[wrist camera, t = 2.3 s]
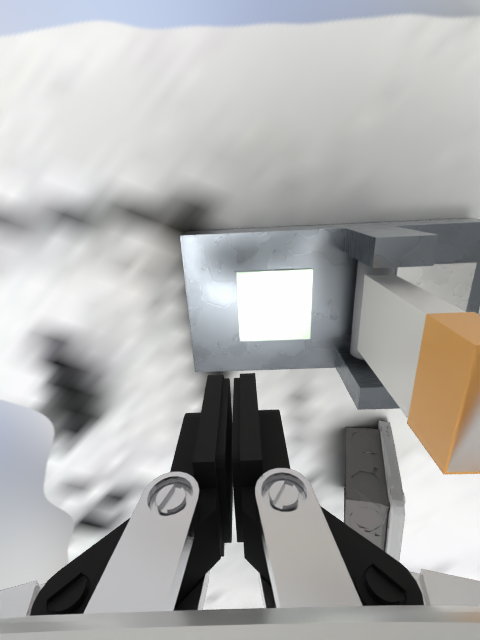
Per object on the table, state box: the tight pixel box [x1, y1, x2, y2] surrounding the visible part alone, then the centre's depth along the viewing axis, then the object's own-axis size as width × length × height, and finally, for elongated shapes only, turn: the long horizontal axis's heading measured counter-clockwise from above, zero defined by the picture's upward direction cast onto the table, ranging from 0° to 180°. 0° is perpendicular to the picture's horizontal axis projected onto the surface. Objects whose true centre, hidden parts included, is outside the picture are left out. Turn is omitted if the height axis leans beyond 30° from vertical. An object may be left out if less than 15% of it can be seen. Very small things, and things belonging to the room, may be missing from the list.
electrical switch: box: [344, 421, 405, 562], centre depth 27 cm, size 9×5×9 cm, turn 6°
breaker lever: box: [350, 261, 480, 474], centre depth 16 cm, size 2×6×12 cm, turn 3°
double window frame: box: [180, 218, 480, 409], centre depth 21 cm, size 20×10×8 cm, turn 93°
